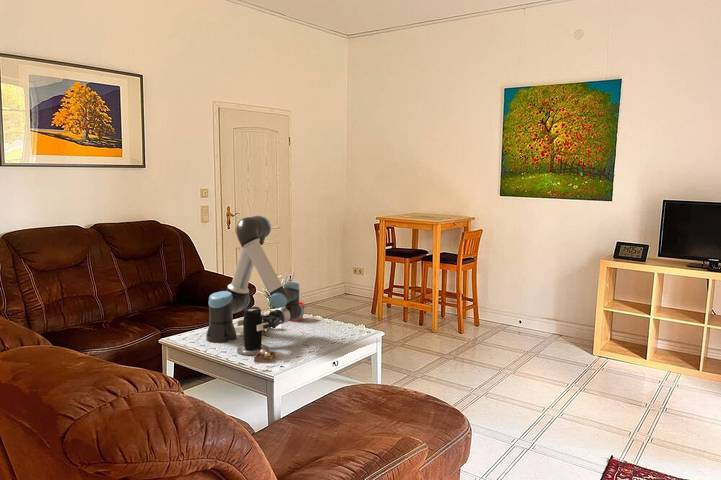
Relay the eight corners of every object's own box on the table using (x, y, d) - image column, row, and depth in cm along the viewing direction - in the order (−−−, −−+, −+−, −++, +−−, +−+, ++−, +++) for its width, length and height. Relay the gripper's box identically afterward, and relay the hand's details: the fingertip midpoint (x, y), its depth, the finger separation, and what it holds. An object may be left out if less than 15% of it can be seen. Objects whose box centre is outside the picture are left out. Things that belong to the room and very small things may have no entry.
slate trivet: (242, 345, 272) (242, 343, 272) (272, 346, 271) (272, 344, 271) (232, 355, 258) (232, 352, 257) (264, 356, 256) (263, 354, 256)
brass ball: (265, 357, 252) (264, 350, 252) (271, 357, 252) (271, 351, 252) (263, 359, 249) (263, 352, 249) (269, 359, 249) (269, 353, 249)
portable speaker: (254, 344, 270) (254, 305, 268) (265, 348, 264) (265, 308, 262) (239, 348, 265) (239, 308, 262) (250, 352, 258) (250, 311, 256)
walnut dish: (259, 355, 257) (258, 351, 257) (275, 356, 256) (275, 352, 256) (254, 361, 249) (254, 357, 249) (271, 362, 248) (271, 357, 248)
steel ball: (260, 354, 256) (260, 348, 255) (267, 354, 255) (267, 348, 255) (258, 356, 253) (258, 350, 252) (265, 356, 252) (265, 350, 252)
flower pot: (297, 323, 313) (297, 306, 312) (282, 320, 319) (282, 304, 318) (308, 319, 323) (308, 303, 321) (293, 316, 328) (293, 300, 327)
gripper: (297, 328, 270) (266, 338, 253) (261, 320, 285) (229, 329, 268) (297, 313, 270) (265, 322, 252) (261, 305, 284) (229, 314, 267)
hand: (247, 325), depth 260 cm, fingers open, 13 cm apart
